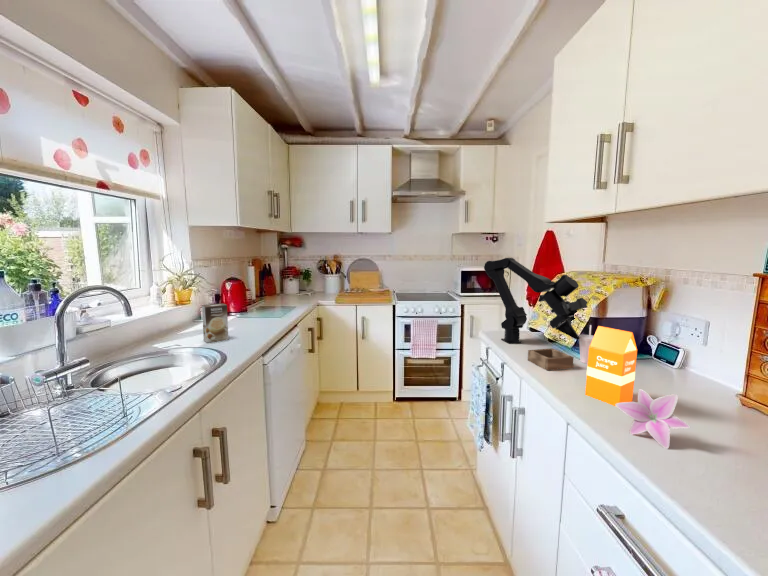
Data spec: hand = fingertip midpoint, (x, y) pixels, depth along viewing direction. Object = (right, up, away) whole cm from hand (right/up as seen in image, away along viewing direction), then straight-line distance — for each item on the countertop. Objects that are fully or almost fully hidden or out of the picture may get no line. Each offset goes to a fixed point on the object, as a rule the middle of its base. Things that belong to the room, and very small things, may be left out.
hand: (584, 337), depth 122 cm
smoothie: (+1, -9, 0) cm, 9 cm away
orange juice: (-11, -13, -29) cm, 34 cm away
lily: (-14, -15, -47) cm, 52 cm away
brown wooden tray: (-14, -9, -2) cm, 17 cm away
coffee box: (-151, -5, +27) cm, 153 cm away
